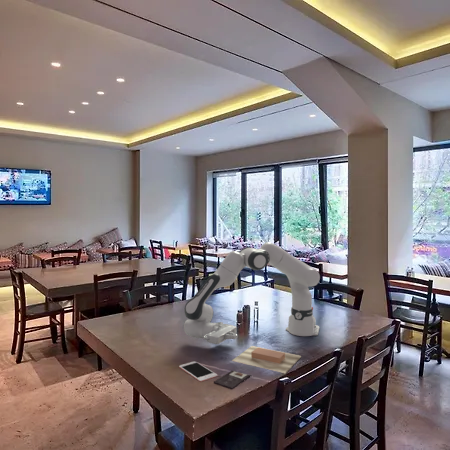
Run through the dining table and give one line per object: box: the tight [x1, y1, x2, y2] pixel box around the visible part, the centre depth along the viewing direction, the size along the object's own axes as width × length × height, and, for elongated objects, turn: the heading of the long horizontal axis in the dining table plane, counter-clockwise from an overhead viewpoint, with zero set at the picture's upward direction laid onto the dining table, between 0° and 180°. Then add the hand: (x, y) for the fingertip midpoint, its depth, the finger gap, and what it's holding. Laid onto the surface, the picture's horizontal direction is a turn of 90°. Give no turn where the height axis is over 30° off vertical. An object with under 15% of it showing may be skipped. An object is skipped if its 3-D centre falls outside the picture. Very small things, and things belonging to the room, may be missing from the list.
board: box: [231, 345, 302, 376], centre depth 171 cm, size 22×26×1 cm
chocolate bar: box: [213, 370, 252, 390], centre depth 152 cm, size 9×1×18 cm
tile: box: [251, 347, 286, 364], centre depth 171 cm, size 7×3×14 cm
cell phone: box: [178, 360, 218, 383], centre depth 158 cm, size 9×18×1 cm, turn 37°
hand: (236, 336), depth 178 cm, fingers closed
